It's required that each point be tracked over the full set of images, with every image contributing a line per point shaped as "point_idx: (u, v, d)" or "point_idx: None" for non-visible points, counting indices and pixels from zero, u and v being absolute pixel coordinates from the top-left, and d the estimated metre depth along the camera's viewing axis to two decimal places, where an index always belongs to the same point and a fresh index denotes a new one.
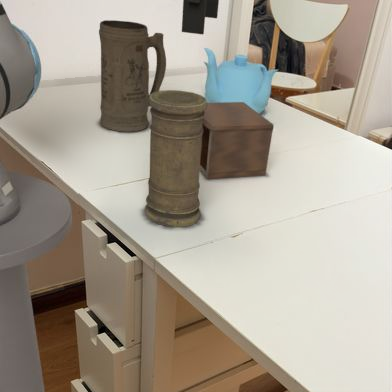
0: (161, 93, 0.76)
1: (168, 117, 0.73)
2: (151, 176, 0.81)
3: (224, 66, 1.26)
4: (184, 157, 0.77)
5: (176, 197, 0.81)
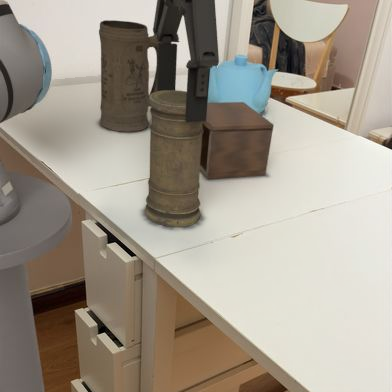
0: (161, 93, 0.76)
1: (168, 117, 0.73)
2: (151, 176, 0.81)
3: (224, 66, 1.26)
4: (183, 157, 0.77)
5: (176, 197, 0.81)
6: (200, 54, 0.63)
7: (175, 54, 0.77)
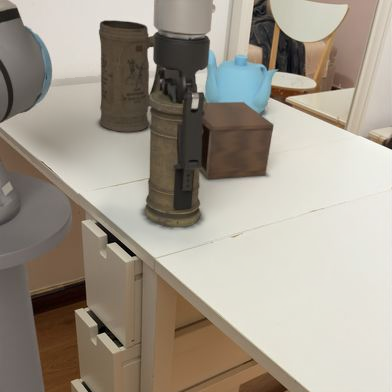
0: (161, 93, 0.76)
1: (168, 117, 0.73)
2: (151, 176, 0.81)
3: (224, 66, 1.26)
4: None
5: None
6: (185, 162, 0.73)
7: None
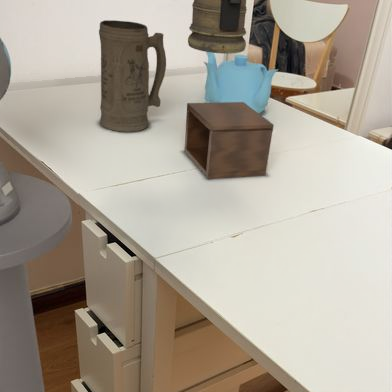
0: None
1: None
2: None
3: (224, 66, 1.26)
4: None
5: None
6: None
7: None
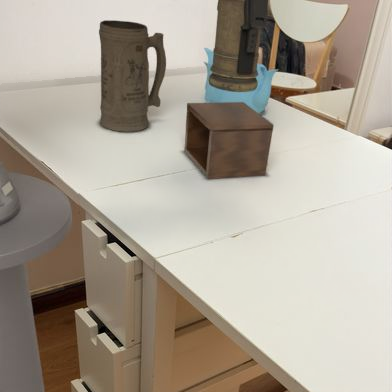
0: None
1: None
2: (217, 43, 0.91)
3: None
4: None
5: None
6: (253, 19, 0.83)
7: None
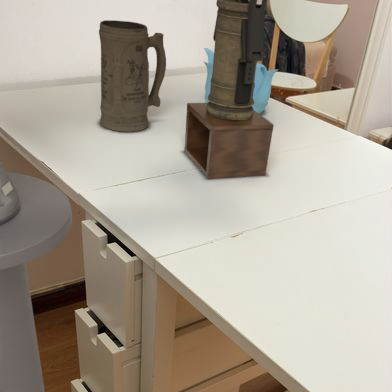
0: None
1: (235, 15, 0.87)
2: (214, 74, 0.94)
3: None
4: None
5: None
6: (250, 53, 0.86)
7: None
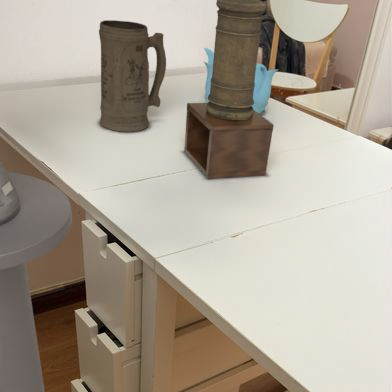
0: None
1: (235, 15, 0.87)
2: (214, 74, 0.94)
3: None
4: (245, 53, 0.90)
5: (236, 92, 0.94)
6: None
7: None
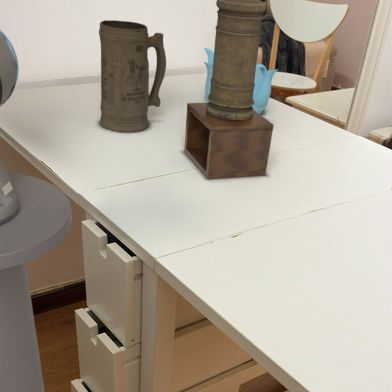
0: None
1: (234, 15, 0.87)
2: (214, 74, 0.94)
3: None
4: (245, 53, 0.90)
5: (236, 92, 0.94)
6: None
7: None
